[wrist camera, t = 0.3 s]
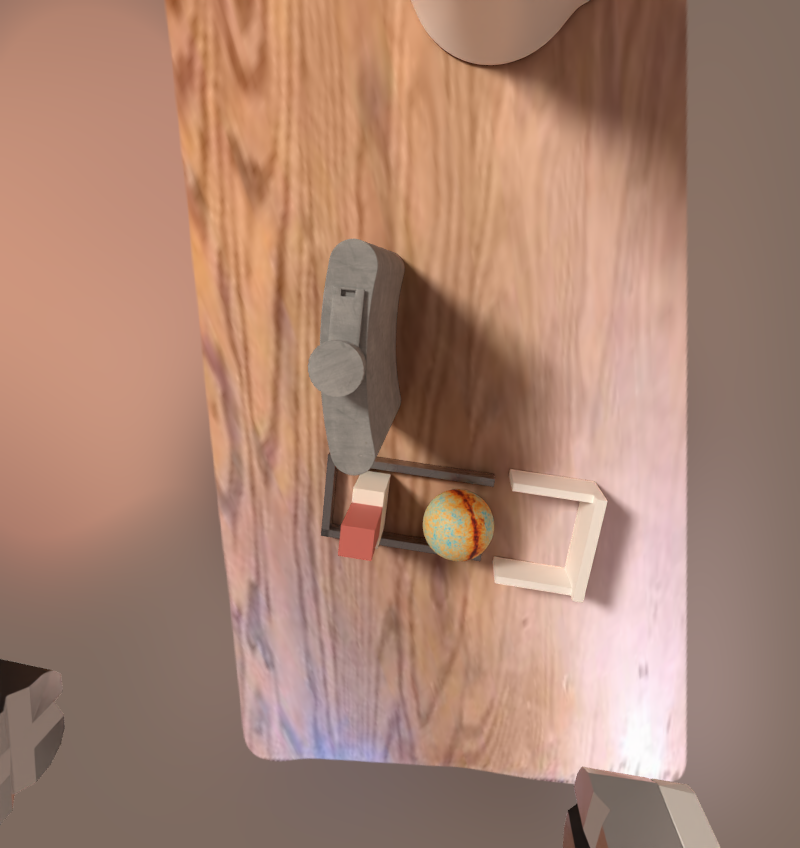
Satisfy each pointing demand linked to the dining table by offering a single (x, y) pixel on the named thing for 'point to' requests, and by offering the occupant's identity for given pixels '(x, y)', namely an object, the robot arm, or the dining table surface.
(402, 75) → the dining table surface
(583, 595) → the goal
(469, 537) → the ball
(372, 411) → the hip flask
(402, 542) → the dark grey rectangular frame
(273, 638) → the dining table surface
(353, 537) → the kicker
